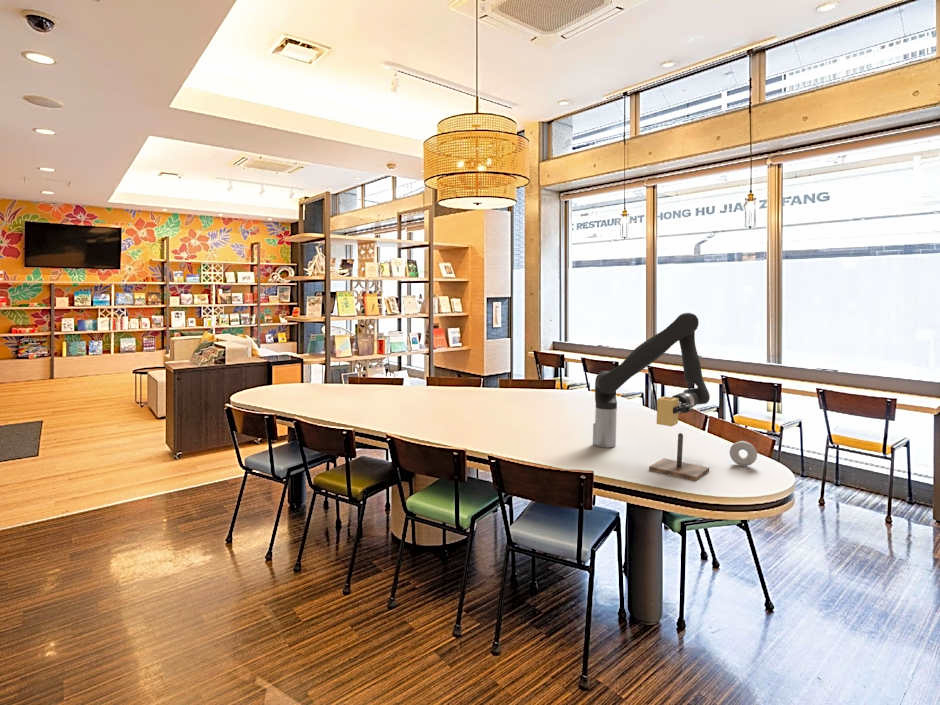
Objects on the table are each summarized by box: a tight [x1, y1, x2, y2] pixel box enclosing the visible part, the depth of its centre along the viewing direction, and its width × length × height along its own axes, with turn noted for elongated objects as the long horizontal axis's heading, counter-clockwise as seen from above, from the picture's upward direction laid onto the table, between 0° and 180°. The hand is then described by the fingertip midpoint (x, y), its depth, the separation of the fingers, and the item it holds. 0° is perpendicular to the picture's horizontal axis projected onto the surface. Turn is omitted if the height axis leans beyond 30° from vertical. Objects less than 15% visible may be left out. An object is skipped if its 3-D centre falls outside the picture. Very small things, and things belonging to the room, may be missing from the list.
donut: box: [729, 440, 758, 467], centre depth 222 cm, size 10×4×10 cm, turn 53°
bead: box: [656, 396, 679, 427], centre depth 217 cm, size 6×6×10 cm
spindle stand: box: [648, 432, 710, 481], centre depth 215 cm, size 18×14×15 cm
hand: (665, 409), depth 215 cm, fingers closed on bead, 6 cm apart
